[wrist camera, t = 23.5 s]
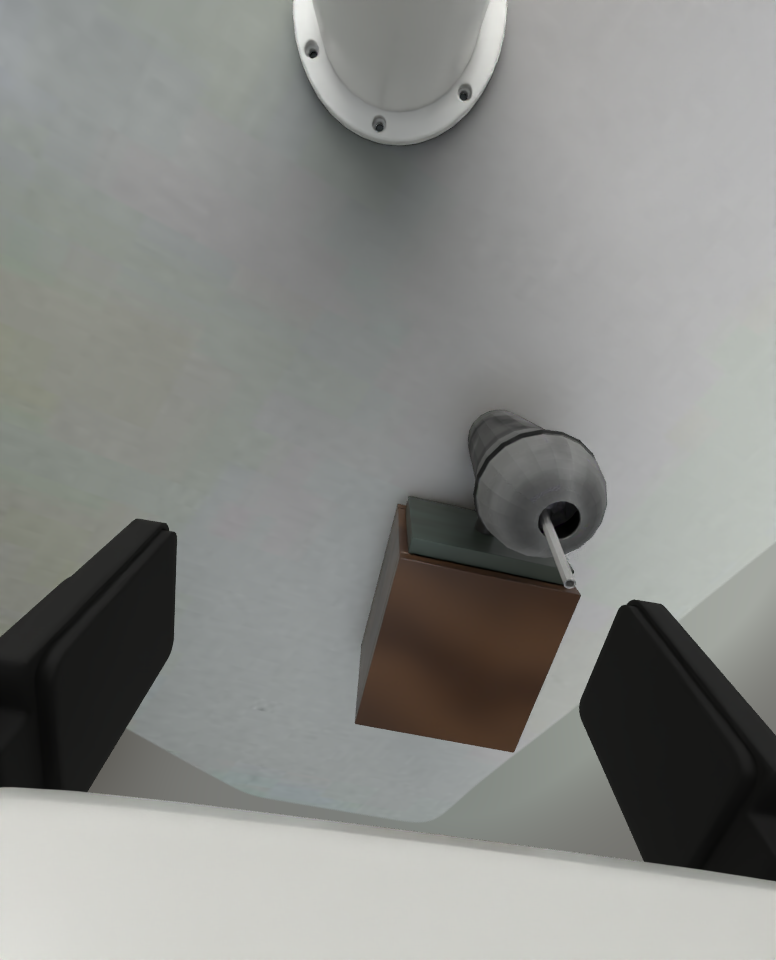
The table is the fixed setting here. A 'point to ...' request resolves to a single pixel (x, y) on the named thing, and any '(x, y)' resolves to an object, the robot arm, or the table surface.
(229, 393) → the table surface
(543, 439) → the beverage cup
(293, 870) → the robot arm
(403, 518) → the cabinet
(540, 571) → the drawer
